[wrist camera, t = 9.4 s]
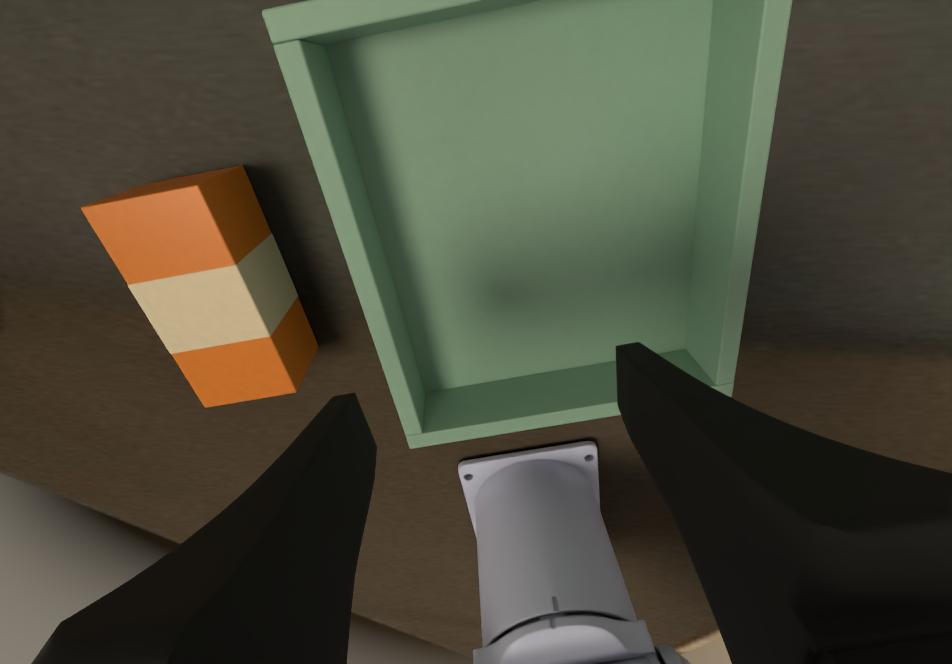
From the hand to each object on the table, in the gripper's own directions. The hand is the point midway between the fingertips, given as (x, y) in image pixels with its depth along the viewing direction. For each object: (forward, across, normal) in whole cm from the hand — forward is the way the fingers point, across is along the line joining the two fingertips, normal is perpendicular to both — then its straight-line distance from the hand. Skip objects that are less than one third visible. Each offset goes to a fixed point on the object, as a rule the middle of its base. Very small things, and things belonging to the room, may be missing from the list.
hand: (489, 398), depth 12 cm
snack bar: (+9, +10, -2) cm, 14 cm away
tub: (+9, -3, -2) cm, 10 cm away
